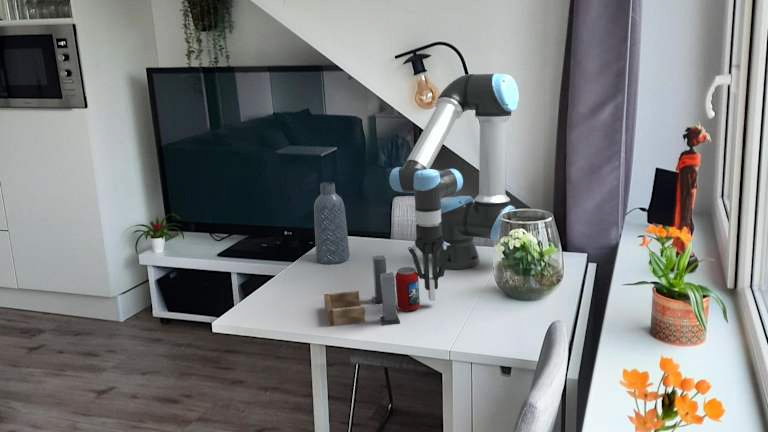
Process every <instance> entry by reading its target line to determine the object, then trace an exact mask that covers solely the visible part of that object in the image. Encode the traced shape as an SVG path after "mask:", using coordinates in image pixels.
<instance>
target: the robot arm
mask: <svg viewBox="0 0 768 432" xmlns="http://www.w3.org/2000/svg"><path fill="white" fill-rule="evenodd" d="M519 99H520V97H519V88H518V85H517V82H516V81H515V79H514V78H513V77H512V76H511V75H510V74H504V73H481V74H479V73H478V74H477V73H476V74H475V73H468V74H464V75H461V76H459V77H457V78H455V79H454V80H453V81H452V82H450V83H449V84H448V85H447V86H446V87H445V88H444V89H443V90H442V91H441V93H440V94H439V96H438V97H437V98H436V101H435V103H434V105H435V109H434V110H433V113H432V114H431V116H430V118H429V120H428V122H427V123H426V126H425V127H424V129H423V131H422V132H421V134H420V136H419V138H418V139H417V142H416V143H415V144H414V147H413V149H412V150H411V153H410V154H409V156H408V158H407V159H406V161H405V163H404V164H403V166H399V167H395V168H392V170H391V172H390V174H389V186H390V187H391V188H392V190H393V191H396V192H399V193H404V194H406V193H407V194H408V193H409V194H414V208H415V209H414V210H415V223H416V224H415V235H416V236H415V238H416V239H415V241H414V244H413V245H412V246H408V247H407V250H408V252H409V253H410V255H411V258H412V259H413V264H414V267H415V271H416V272H417V274H418V279H420V280H424V281H423V282H424V288H425V291H428V294H427V295H428V300H429V301H430V302H435V301H436V291H435V290H438V288H439V283H438V282H439V279H440V278H441V277H444V275H445V272H446V270H464V269H465V270H467V269H470V268H473V267H476V266H478V265H479V264H480V255H479V252H478V250H477V247H476V244H475V241H474V238H481V239H487V240H491V241H495V240H497V234H498V227H499V220H500V215H501V213H503V212H506V211H511V210H516V207H515V206H513V205H511V199H510V197H508V195H507V194H506V178H507V177H506V172H507V171H506V170H507V169H506V167H507V122H508V121H509V119H511V117H512V112H513V111H515V110H516V109H517V108H518V103H519ZM467 111H475V112H474V118H476V119H477V120H478V121H479V158H478V159H479V160H478V161H479V164H478V165H479V167H478V168H479V169H478V170H479V172H478V176H479V177H478V179H479V180H478V182H479V184H478V185H479V186H478V188H479V189H478V191H479V192H478V194H477V196H476V197H475V198H474V199H473V197H472V196H471V195H459V196H454V197H449V196H452V195H455V194H456V193H457V192H459V191H460V190H461V189H462V188H463V184H464V178H463V176H462V173H461V172H460V171H459V170H458V169H455V168H449V169H448V168H446V169H443V170H437V169H430V168H431V167H432V165H433V163H434V161H435V160H436V158H437V156H438V154H439V152H440V151H441V148H442V146H443V144H444V142H445V141H446V139H447V137H448V135H449V134H450V131H451V130H452V128H453V126H454V124H455V122H456V120H459V119H460V118H462V117H463V116H462V115H463V114H464V113H465V112H467ZM446 197H447V198H446ZM444 198H445V199H444ZM442 199H443V200H442ZM516 211H517V210H516ZM497 241H498V240H497ZM418 251H420V252H421V253H422V262H423V263H422V265H423V270H422V266H421V264H420V261H419V257H418V255H417V253H418ZM430 255H431V275H432V276H431V277H430Z"/></svg>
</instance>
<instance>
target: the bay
mask: <svg viewBox="0 0 768 432" xmlns="http://www.w3.org/2000/svg"><path fill="white" fill-rule="evenodd" d="M323 298H324V300H323V301H324V309H325V315H326V319H327V326H328V327H335V326H336V327H337V326H343V325H344V326H346V325H351V324H361V323H363V324H364V323H366V312H365V306H361V303H360V291H359V290H352V291H343V292H334V293H333V292H332V293H325V294H323Z"/></svg>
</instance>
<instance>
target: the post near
mask: <svg viewBox="0 0 768 432" xmlns="http://www.w3.org/2000/svg"><path fill="white" fill-rule="evenodd" d="M380 277H381V294H382V304H381V306H382V315H380V316H379V320H380V323H381V325H382V326H389V325H390V326H391V325H398V324H401V321H400V318H399V316H398V313H397V295H396V279H395V275H394V273H393V272H386V273H381V274H380Z"/></svg>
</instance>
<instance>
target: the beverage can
mask: <svg viewBox="0 0 768 432" xmlns="http://www.w3.org/2000/svg"><path fill="white" fill-rule="evenodd" d="M394 278H395V295H396V307H397V308H398V309H399V310H401V311H403V312H413V311H416V310H417V309H418V308H420V306H421V303H420V301H421V300H420V283H419V276H418V273H417V270H416V267H415V268H414V267H411V266H408V267H407V266H406V267H401V268H398V269H397V271H396V273H395V275H394Z"/></svg>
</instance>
